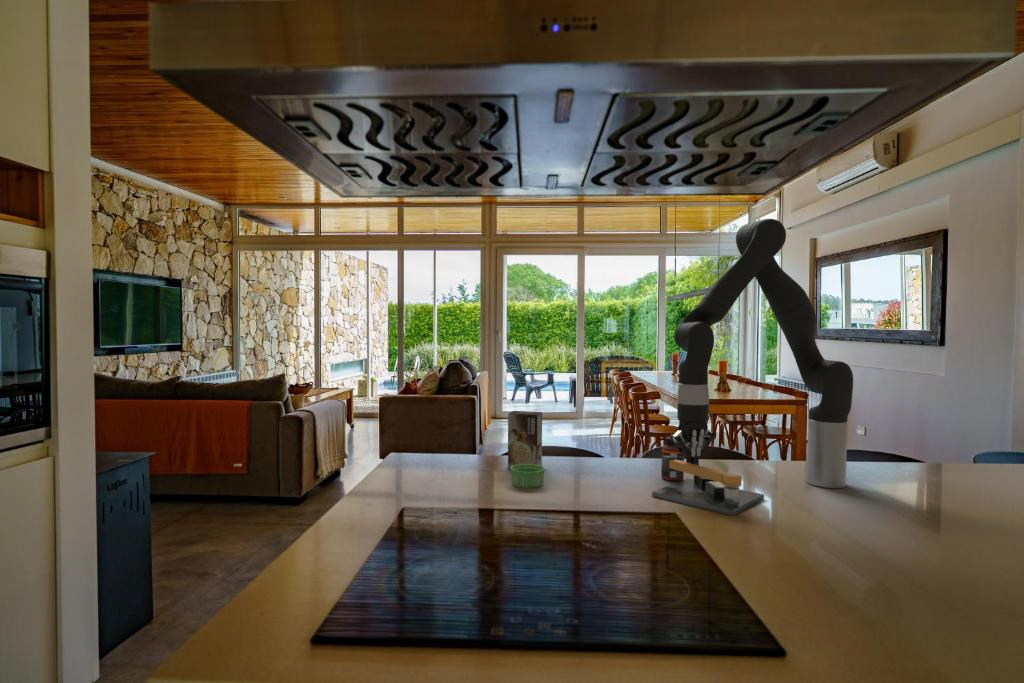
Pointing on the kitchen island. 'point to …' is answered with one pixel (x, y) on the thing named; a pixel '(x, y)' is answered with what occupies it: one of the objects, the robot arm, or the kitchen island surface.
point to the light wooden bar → (702, 471)
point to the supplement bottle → (672, 450)
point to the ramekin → (527, 475)
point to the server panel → (709, 495)
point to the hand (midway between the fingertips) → (692, 470)
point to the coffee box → (524, 438)
